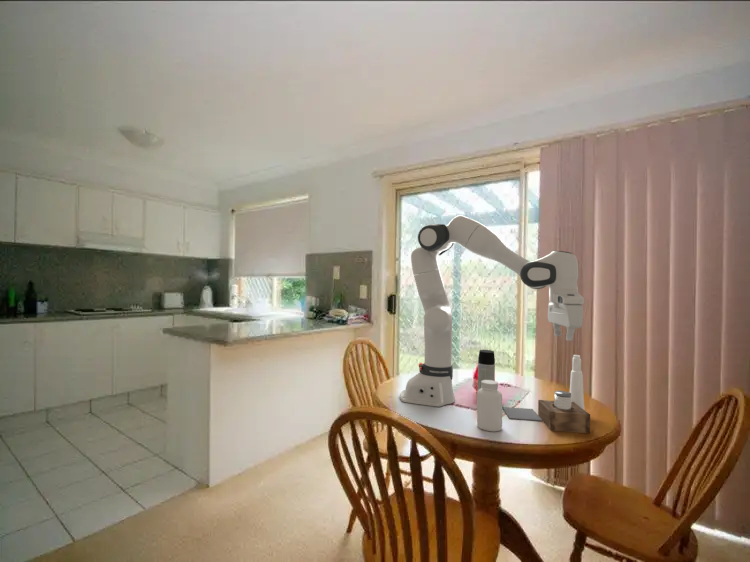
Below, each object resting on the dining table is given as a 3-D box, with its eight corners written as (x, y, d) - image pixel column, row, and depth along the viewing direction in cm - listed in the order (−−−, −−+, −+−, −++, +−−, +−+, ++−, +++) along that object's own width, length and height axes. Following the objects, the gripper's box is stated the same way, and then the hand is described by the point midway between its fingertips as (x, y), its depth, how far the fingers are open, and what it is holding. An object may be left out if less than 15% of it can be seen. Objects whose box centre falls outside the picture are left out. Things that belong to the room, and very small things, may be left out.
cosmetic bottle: (570, 410, 129) (570, 352, 129) (588, 415, 124) (588, 355, 125) (564, 414, 125) (564, 354, 125) (582, 419, 120) (583, 357, 120)
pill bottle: (477, 420, 118) (478, 377, 118) (502, 424, 115) (503, 380, 115) (475, 429, 110) (476, 383, 111) (501, 434, 107) (502, 386, 107)
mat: (509, 418, 120) (509, 417, 120) (502, 407, 131) (502, 406, 131) (542, 421, 118) (542, 420, 118) (532, 409, 129) (532, 408, 129)
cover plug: (557, 426, 114) (558, 394, 114) (552, 421, 119) (552, 390, 119) (573, 428, 113) (573, 395, 113) (567, 422, 118) (567, 390, 118)
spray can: (494, 397, 143) (494, 350, 143) (494, 402, 136) (495, 353, 137) (477, 395, 145) (478, 348, 145) (477, 400, 138) (477, 351, 139)
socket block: (550, 430, 111) (550, 411, 111) (538, 416, 123) (538, 399, 123) (590, 433, 109) (590, 414, 109) (573, 418, 121) (573, 402, 121)
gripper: (543, 296, 127) (543, 333, 127) (565, 298, 107) (565, 342, 107) (561, 297, 126) (560, 334, 126) (587, 299, 106) (587, 343, 106)
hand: (563, 338), depth 116 cm, fingers open, 8 cm apart
